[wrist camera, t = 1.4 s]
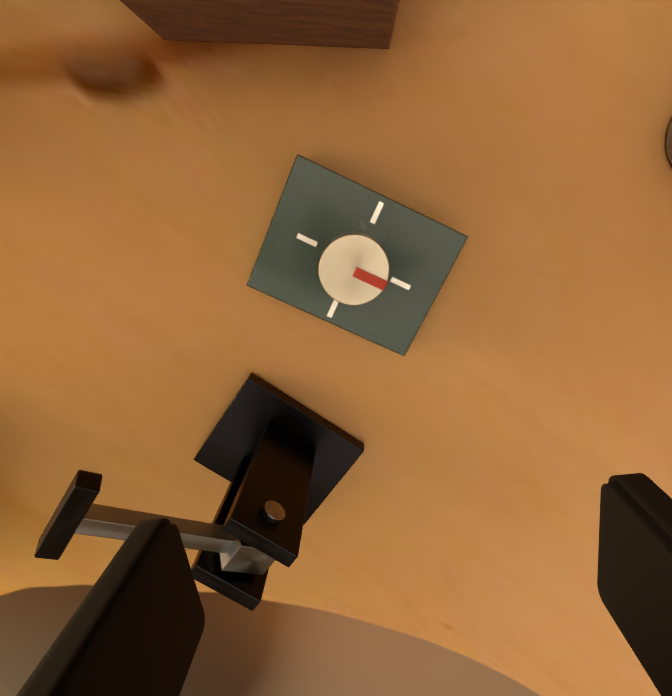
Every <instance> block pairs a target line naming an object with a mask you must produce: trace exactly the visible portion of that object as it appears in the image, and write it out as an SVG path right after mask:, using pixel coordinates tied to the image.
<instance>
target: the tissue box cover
mask: <svg viewBox="0 0 672 696" xmlns="http://www.w3.org/2000/svg"><path fill="white" fill-rule="evenodd" d="M120 1H121V2H123V3H124V4H125V5H126V6H127V7H128V8H129V9H130V10H131V11H133V12H134V13H135V14H136V15H137V16H138V17H139V18H140V19H142V20H143V21H144V22H145V23H146V24H147V25H148V26H149V27H151V28H152V29H153V30H154V31H155V32H156V33H157V34H158V35H160V36H161V37H162V38H163V39H164V40H180V41H205V42H230V43H256V44H281V45H306V46H332V47H357V48H382V49H389V47H390V42H391V37H392V32H393V27H394V22H395V18H396V13H397V8H398V3H399V0H120Z"/></svg>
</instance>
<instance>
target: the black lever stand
mask: <svg viewBox="0 0 672 696" xmlns="http://www.w3.org/2000/svg"><path fill="white" fill-rule="evenodd" d="M363 451H364V444H363V443H362V442H360V441H359V440H357V439H356V438H354V437H352V436H351V435H349V434H348V433H346V432H345V431H343V430H341V429H340V428H338V427H337V426H335V425H334V424H332V423H330V422H329V421H327V420H326V419H324V418H323V417H321V416H319V415H318V414H316V413H315V412H313V411H311V410H310V409H308V408H307V407H305V406H304V405H302V404H300V403H299V402H297V401H296V400H294V399H293V398H291V397H289V396H288V395H286V394H285V393H283V392H282V391H280V390H278V389H277V388H275V387H274V386H272V385H271V384H269V383H267V382H266V381H264V380H263V379H261V378H260V377H258V376H256V375H255V374H253V373H251V374H250V376H249V377H248V379H247V380H246V382H245V383H244V385H243V386H242V388H241V389H240V391H239V392H238V394H237V395H236V397H235V398H234V400H233V401H232V403H231V404H230V406H229V407H228V409H227V410H226V412H225V413H224V415H223V416H222V418H221V419H220V421H219V422H218V424H217V425H216V427H215V428H214V430H213V431H212V433H211V434H210V436H209V437H208V439H207V440H206V442H205V443H204V445H203V446H202V448H201V449H200V451H199V452H198V454H197V455H196V457H195V458H194V460H195V461H196V462H198V463H200V464H202V465H203V466H205V467H207V468H208V469H210V470H212V471H213V472H215V473H217V474H218V475H220V476H222V477H224V478H225V479H227V480H229V481H230V482H231V483H230V485H229V487H228V489H227V491H226V494H225V496H224V498H223V500H222V502H221V504H220V507H219V509H218V511H217V513H216V515H215V517H214V520H213V522H212V524H216V525H222V526H223V528H222V529H223V530H224V531H226V532H227V533H229V534H231V535H233V536H234V537H236V538H238V539H240V540H241V541H243V542H245V543H247V544H248V545H250V546H252V547H254V548H255V549H257V550H259V551H261V552H262V553H264V554H266V555H268V556H269V557H271V558H273V559H275V560H276V561H278V562H280V563H282V564H283V565H285V566H287V567H290V565H291V564H292V563H293V562H294V561H295V559H296V558H297V557H298V552H299V546H300V541H301V535H302V529H303V525H304V524H305V523H306V522H307V520H308V519H309V518H310V517H311V515H312V514H313V513H314V512H315V510H316V509H317V508H318V507H319V506H320V504H321V503H322V502H323V501H324V499H325V498H326V497H327V496H328V495H329V493H330V492H331V491H332V490H333V488H334V487H335V486H336V485H337V483H338V482H339V481H340V480H341V479H342V477H343V476H344V475H345V474H346V472H347V471H348V470H349V469H350V467H351V466H352V465H353V464H354V463H355V461H356V460H357V459H358V458H359V456H360V455H361V454H362V453H363ZM268 569H269V568H268ZM191 571H192V575H193V578H194V579H195V580H196V581H198V582H200V583H202V584H204V585H206V586H207V587H209V588H211V589H213V590H215V591H217V592H218V593H220V594H222V595H224V596H226V597H228V598H229V599H231V600H233V601H235V602H237V603H238V604H240V605H242V606H244V607H246V608H248V609H249V610H252V611H253V610H254V609H255V607H256V606H257V605H258V604H259V602H260V601H261V598H262V594H263V590H264V586H265V582H266V578H267V573H268V570H267V571H266V572H265V573H264V574H263V575H258V574H249V573H240V572H231V571H222V569H221V559H220V553H218V552H211V551H203V550H199V552H198V554H197V556H196V558H195V561H194V563H193V565H192V567H191Z"/></svg>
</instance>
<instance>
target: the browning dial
mask: <svg viewBox="0 0 672 696" xmlns="http://www.w3.org/2000/svg"><path fill="white" fill-rule="evenodd" d="M389 272H390V267H389V261H388V258H387V255H386V253H385V251H384V250H383V248H382V247H381V245H380V244H379V243H378V241H377V240H376V239H375V238H374V237H372V236H371V235H369V234H368V233H365V232H362V231H347V232H344V233H342V234H340V235H338V236H337V237H335V238H334V239H333V240H332V241H331V243H330V244H329V245H328V246H327V247H326V249H325V250H324V252H323V254H322V256H321V259H320V262H319V278H320V282H321V284H322V286H323V288H324V290H325V291H326V292H327V294H328V295H329V296H330V297H331V298H333V299H334V300H336V301H337V302H339V303H342V304H345V305H352V306H356V305H362V304H366V303H368V302H370V301H372V300H374V299H375V298H376V297H378V296H379V295H380V294H381V292H382V291H383V290H384V289H385V287H386V285H387V282H388V278H389Z"/></svg>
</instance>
